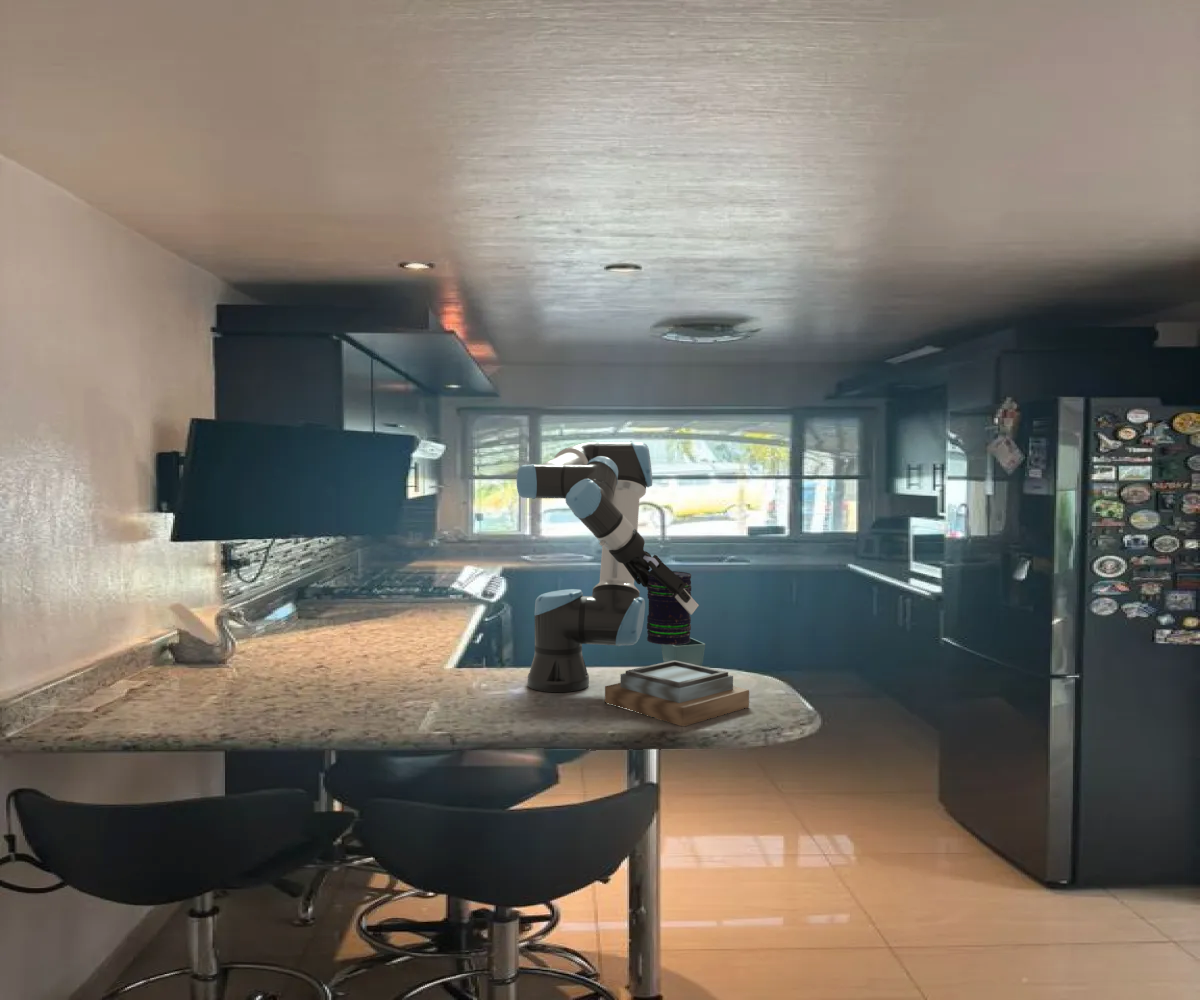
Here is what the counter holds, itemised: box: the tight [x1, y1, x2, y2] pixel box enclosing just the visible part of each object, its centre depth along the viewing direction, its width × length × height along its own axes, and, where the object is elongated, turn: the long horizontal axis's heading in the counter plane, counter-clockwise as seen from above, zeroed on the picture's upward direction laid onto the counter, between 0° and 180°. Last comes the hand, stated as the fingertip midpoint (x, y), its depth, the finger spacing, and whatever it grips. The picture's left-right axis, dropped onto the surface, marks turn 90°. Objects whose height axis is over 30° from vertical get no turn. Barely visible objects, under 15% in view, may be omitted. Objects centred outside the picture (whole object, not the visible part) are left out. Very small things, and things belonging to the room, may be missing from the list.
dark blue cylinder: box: [646, 570, 692, 645], centre depth 207 cm, size 10×10×15 cm
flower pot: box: [660, 637, 706, 666], centre depth 239 cm, size 9×9×9 cm
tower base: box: [604, 660, 750, 727], centre depth 211 cm, size 24×22×8 cm
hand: (680, 606), depth 209 cm, fingers closed on dark blue cylinder, 10 cm apart
